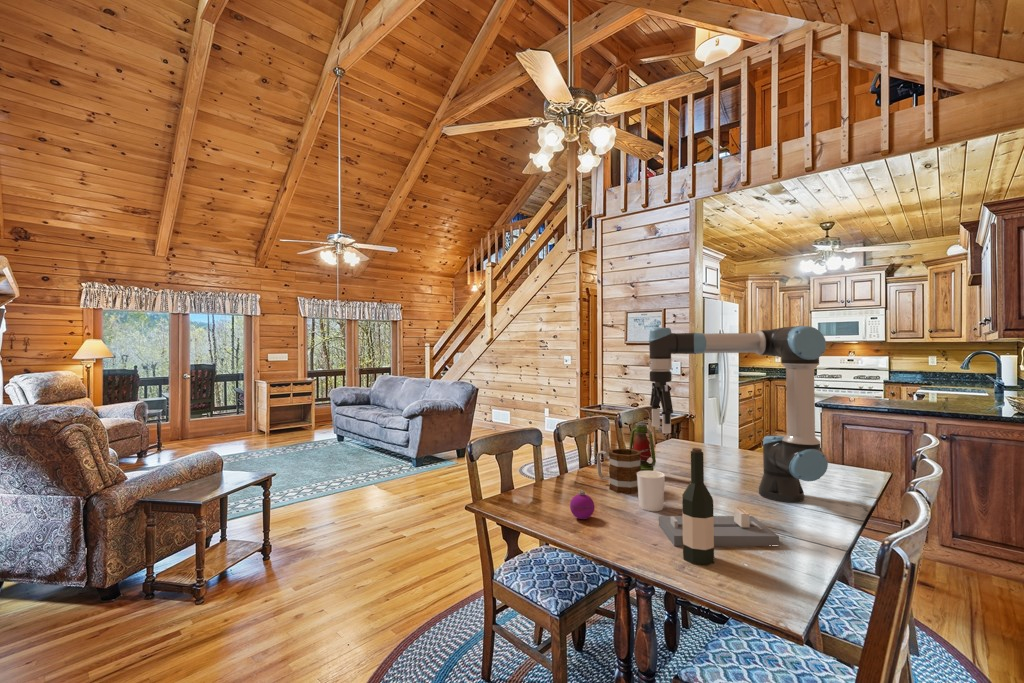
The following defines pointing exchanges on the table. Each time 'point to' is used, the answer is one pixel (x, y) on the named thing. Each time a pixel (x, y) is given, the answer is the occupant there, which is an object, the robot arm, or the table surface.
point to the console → (723, 532)
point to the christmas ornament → (582, 506)
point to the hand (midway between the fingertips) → (661, 429)
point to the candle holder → (651, 490)
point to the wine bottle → (698, 516)
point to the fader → (741, 517)
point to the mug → (622, 469)
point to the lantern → (643, 443)
